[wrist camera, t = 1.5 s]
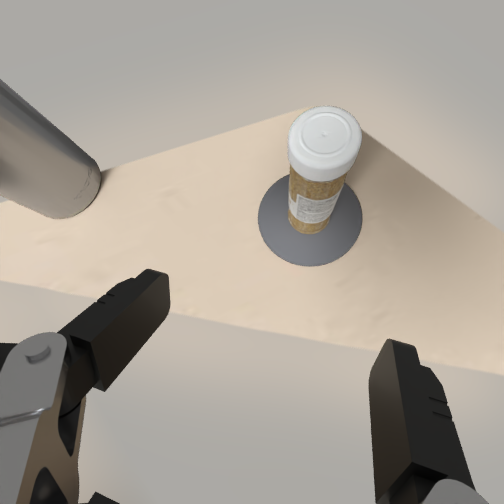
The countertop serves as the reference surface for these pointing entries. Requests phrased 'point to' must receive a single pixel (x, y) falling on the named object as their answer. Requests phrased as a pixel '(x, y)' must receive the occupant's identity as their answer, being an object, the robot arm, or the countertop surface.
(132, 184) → the countertop surface
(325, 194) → the sprinkles bottle
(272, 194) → the coaster
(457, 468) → the robot arm
